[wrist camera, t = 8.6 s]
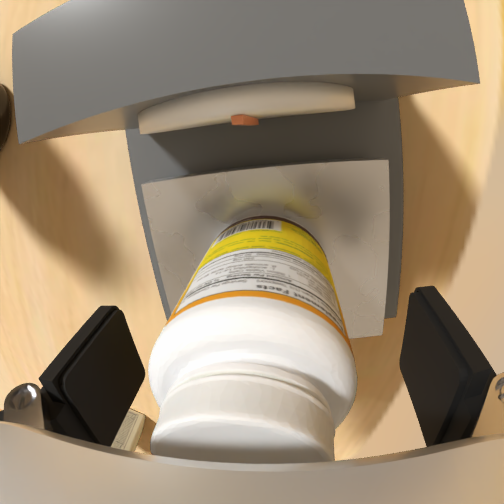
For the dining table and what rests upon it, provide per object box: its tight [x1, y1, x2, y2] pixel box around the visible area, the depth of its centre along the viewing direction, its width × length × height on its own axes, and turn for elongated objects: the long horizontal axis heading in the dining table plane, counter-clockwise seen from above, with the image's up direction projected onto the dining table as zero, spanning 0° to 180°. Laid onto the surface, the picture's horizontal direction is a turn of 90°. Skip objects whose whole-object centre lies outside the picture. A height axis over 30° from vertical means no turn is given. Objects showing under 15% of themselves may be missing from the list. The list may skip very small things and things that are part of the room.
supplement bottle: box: [148, 215, 357, 464], centre depth 10 cm, size 6×6×10 cm
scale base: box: [12, 0, 480, 321], centre depth 13 cm, size 16×14×11 cm
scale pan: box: [141, 157, 390, 339], centre depth 16 cm, size 9×11×2 cm
